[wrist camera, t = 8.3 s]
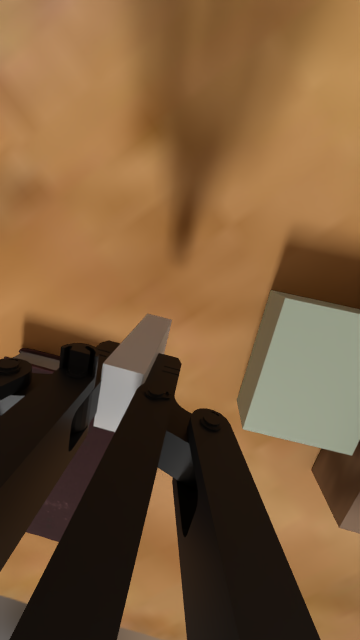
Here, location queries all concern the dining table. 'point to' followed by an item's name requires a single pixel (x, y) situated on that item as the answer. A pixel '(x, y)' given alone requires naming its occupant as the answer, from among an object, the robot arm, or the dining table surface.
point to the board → (340, 485)
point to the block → (304, 374)
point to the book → (77, 473)
